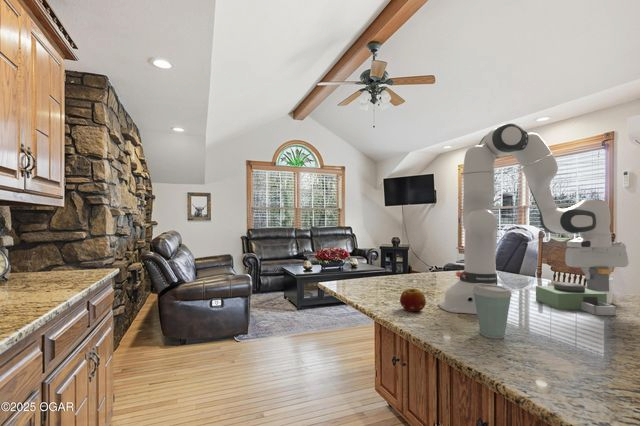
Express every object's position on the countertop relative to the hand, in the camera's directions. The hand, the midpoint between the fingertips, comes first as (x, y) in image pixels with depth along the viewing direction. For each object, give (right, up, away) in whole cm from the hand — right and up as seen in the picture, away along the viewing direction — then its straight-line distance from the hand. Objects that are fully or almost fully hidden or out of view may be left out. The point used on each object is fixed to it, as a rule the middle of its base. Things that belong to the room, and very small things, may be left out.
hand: (597, 279), depth 121 cm
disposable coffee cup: (-52, -12, -23) cm, 58 cm away
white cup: (+14, -13, +14) cm, 23 cm away
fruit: (-68, -13, +4) cm, 69 cm away
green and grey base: (-3, -12, +7) cm, 14 cm away
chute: (0, -4, 0) cm, 4 cm away
